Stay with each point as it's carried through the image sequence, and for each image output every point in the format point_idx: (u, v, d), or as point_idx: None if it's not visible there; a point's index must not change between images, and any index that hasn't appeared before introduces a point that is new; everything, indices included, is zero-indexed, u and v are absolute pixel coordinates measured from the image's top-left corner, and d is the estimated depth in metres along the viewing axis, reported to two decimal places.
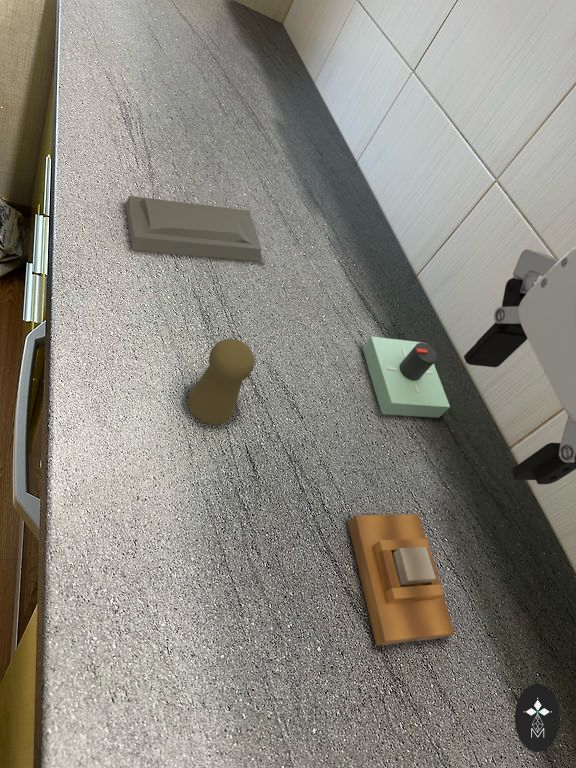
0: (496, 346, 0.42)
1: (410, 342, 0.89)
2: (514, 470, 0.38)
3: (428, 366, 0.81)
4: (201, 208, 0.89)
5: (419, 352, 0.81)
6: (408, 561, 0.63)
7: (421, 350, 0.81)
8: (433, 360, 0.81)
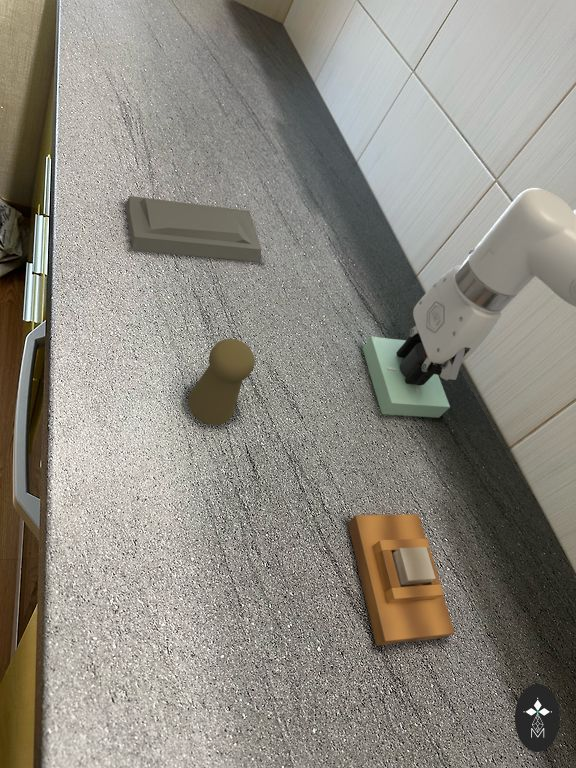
0: None
1: None
2: None
3: None
4: (201, 208, 0.89)
5: None
6: (408, 561, 0.63)
7: None
8: None
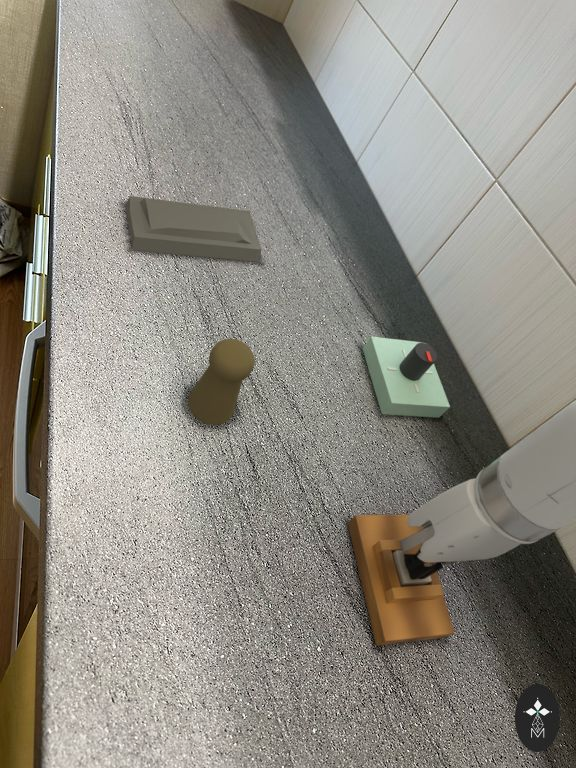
0: None
1: (410, 342, 0.89)
2: (420, 578, 0.63)
3: None
4: (201, 208, 0.89)
5: (431, 359, 0.80)
6: (404, 563, 0.64)
7: (429, 356, 0.81)
8: (433, 349, 0.82)
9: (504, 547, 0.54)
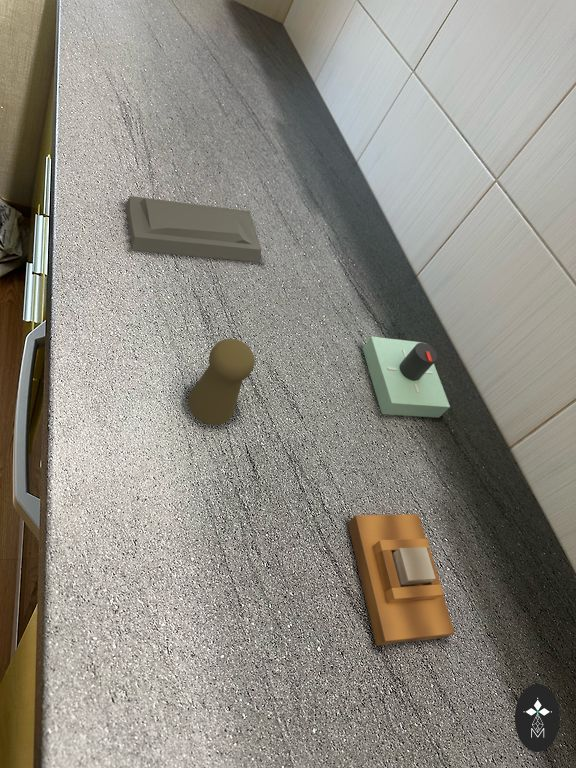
0: None
1: (410, 342, 0.89)
2: None
3: None
4: (201, 208, 0.89)
5: (431, 359, 0.80)
6: (408, 561, 0.63)
7: (429, 356, 0.81)
8: (433, 349, 0.82)
9: None
